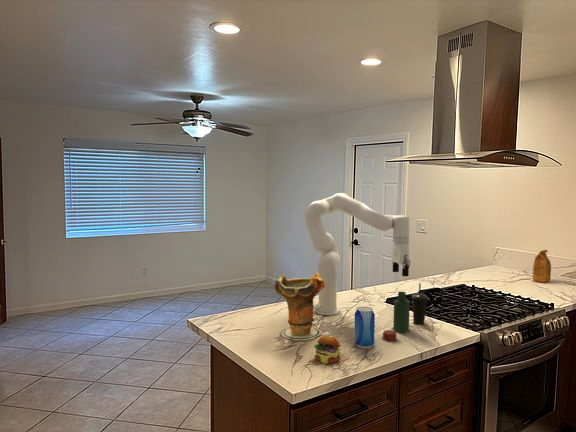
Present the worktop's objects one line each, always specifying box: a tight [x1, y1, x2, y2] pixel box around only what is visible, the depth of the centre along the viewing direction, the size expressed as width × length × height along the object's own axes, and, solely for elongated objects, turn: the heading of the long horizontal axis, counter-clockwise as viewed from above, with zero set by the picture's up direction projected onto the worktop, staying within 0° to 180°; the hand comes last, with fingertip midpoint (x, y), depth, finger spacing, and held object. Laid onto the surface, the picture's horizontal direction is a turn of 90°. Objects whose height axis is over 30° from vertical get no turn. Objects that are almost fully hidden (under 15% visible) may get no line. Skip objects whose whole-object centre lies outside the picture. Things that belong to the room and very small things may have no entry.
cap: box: [382, 329, 397, 342], centre depth 183 cm, size 5×5×3 cm
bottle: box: [392, 291, 411, 334], centre depth 193 cm, size 7×7×18 cm
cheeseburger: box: [313, 335, 342, 364], centre depth 163 cm, size 10×11×10 cm
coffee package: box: [532, 249, 552, 283], centre depth 288 cm, size 10×12×22 cm
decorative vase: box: [273, 272, 325, 341], centre depth 188 cm, size 21×23×28 cm
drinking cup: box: [411, 282, 429, 326], centre depth 203 cm, size 8×8×20 cm
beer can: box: [353, 306, 376, 350], centre depth 175 cm, size 8×8×16 cm
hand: (400, 274), depth 207 cm, fingers open, 9 cm apart
